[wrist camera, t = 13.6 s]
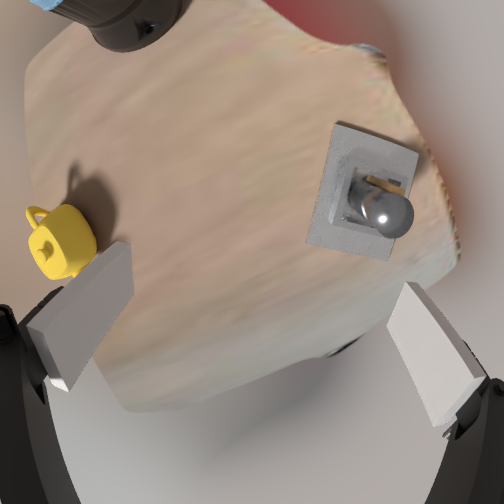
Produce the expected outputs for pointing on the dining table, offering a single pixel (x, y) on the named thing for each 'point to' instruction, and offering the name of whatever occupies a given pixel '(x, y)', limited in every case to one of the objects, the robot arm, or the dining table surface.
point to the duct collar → (341, 183)
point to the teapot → (61, 241)
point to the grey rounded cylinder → (383, 206)
